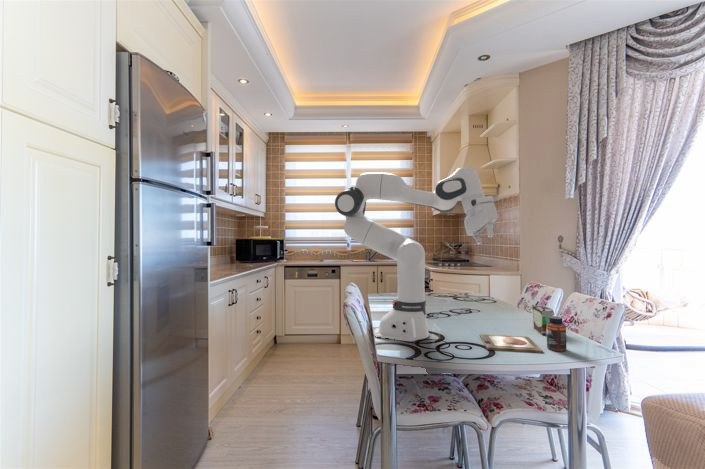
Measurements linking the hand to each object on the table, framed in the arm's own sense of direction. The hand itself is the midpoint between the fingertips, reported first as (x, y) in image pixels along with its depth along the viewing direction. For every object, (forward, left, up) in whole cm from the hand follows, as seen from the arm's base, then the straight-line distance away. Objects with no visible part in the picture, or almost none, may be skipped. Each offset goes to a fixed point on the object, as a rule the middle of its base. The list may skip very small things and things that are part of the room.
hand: (485, 240), depth 121 cm
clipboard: (+8, +2, -39) cm, 40 cm away
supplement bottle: (+23, -1, -39) cm, 45 cm away
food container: (+27, +21, -39) cm, 52 cm away
